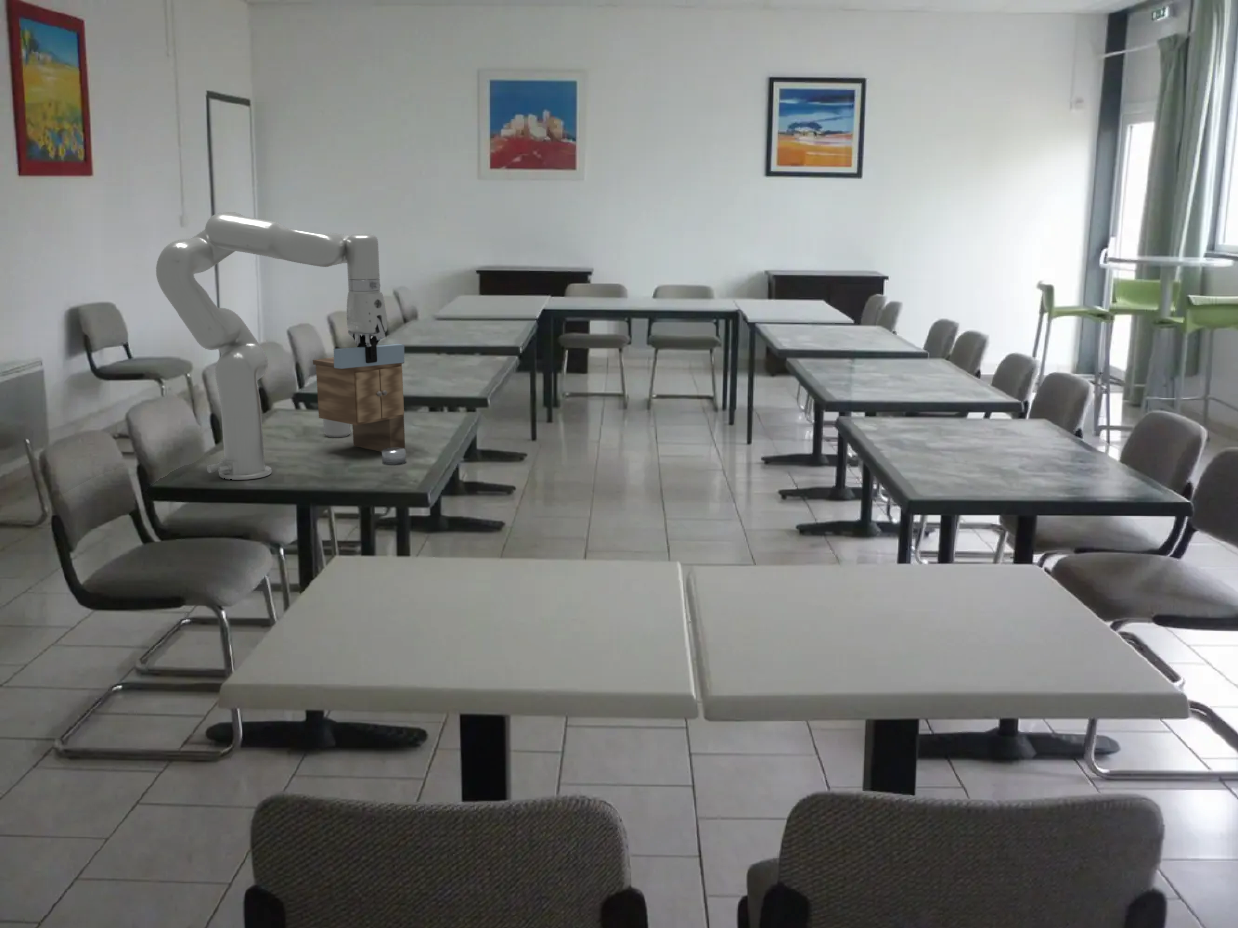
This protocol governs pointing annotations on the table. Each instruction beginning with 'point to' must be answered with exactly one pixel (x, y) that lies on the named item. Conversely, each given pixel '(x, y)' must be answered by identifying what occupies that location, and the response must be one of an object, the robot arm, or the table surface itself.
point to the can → (336, 428)
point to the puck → (393, 456)
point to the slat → (358, 359)
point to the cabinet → (364, 402)
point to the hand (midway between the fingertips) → (367, 361)
